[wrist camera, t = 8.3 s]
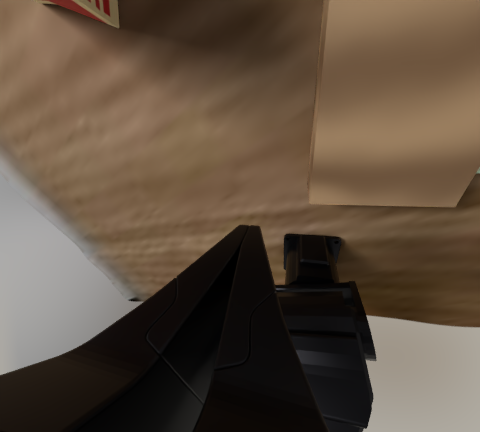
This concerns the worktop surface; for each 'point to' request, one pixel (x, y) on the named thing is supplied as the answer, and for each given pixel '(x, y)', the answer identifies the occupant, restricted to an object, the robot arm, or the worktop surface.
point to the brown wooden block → (396, 103)
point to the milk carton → (91, 9)
